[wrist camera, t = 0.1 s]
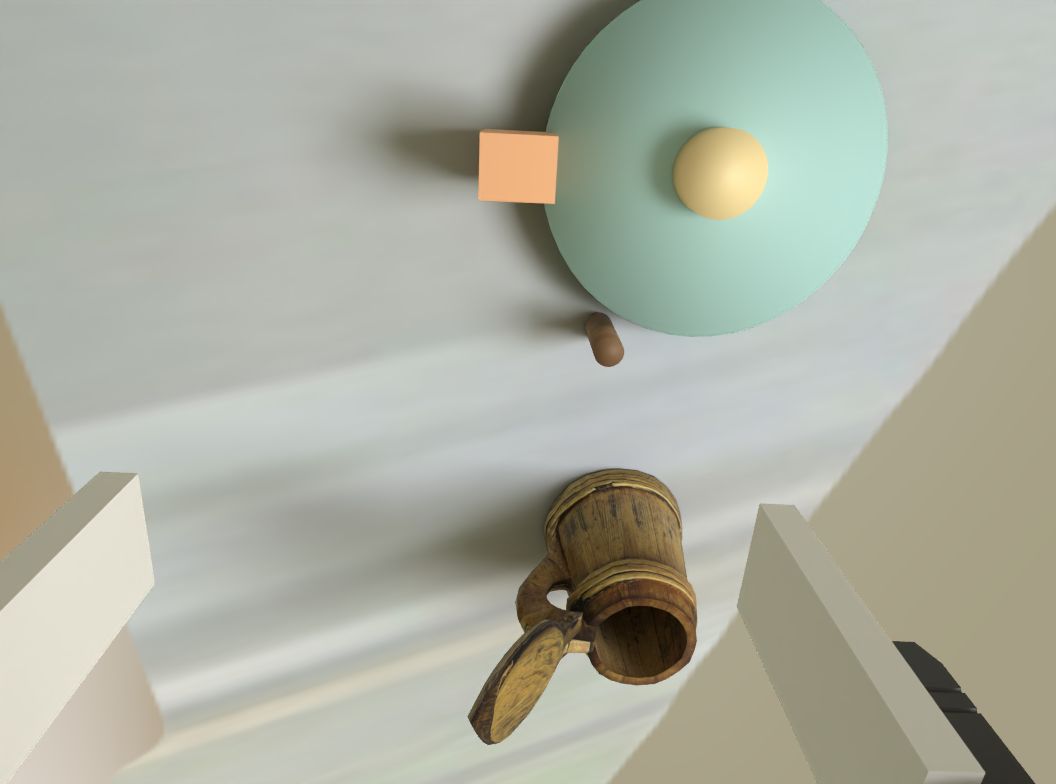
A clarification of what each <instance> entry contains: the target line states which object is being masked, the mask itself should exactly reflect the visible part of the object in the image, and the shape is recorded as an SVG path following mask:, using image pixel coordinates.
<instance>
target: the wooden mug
mask: <svg viewBox="0 0 1056 784" xmlns="http://www.w3.org/2000/svg"><path fill="white" fill-rule="evenodd" d="M544 535H545V539H546V544H547V549H548V555H547V556H546V558H545V559H544V560H543V561H542V562H541V563H540V564H539V565H538V566H537V567H536V568H535V569H534V570H533V571H532V572H531V573H530V575H529V576H528V577H527V578H526V580H525V581H524V582H523V584H522V585H521V586H520V588H519V591H518V595H517V598H516V602H515V603H516V610H517V616H518V620H519V622H520V624H521V626H522V628H523V630H524V632H525V633H524V634H523V635H522V636H521V637H520V638H519V639H518V640H517V641H516V642H515V643H514V644H513V646H512V647H511V648H510V649H509V650H508V652H507V653H506V654H505V655H504V656H503V658H502V659H501V661H500V662H499V663H498V665H497V666H496V667H495V669H494V670H493V672H492V673H491V675H490V676H489V678H488V680H487V681H486V683H485V684H484V686H483V688H482V690H481V692H480V694H479V696H478V698H477V700H476V701H475V703H474V705H473V707H472V709H471V711H470V713H469V715H468V719H469V721H470V723H471V725H472V727H473V729H474V730H475V732H476V734H477V735H478V737H479V738H480V739H481V740H482V741H483V742H484V743H486V744H488V745H491V744H496V743H500V742H501V741H503V740H504V739H505V738H507V737H508V736H509V735H511V733H512V732H513V731H514V730H515V729H516V728H517V727H518V725H519V724H520V723H521V722H522V721H523V720H524V719H525V718H526V717H527V715H528V714H529V713H530V711H531V710H532V708H533V707H534V705H535V704H536V702H537V701H538V699H539V698H540V696H541V695H542V693H543V692H544V690H545V688H546V686H547V684H548V683H549V681H550V679H551V677H552V675H553V673H554V671H555V669H556V667H557V665H558V663H559V661H560V660H561V659H562V658H563V657H564V656H565V655H566V654H567V653H586V655H587V656H588V657H589V659H590V661H591V663H592V665H593V667H594V668H595V669H596V670H597V671H598V673H599V674H601V675H603V676H604V677H606V678H608V679H610V680H612V681H615V682H619V683H623V684H631V685H647V684H655V683H658V682H660V681H663V680H665V679H667V678H669V677H670V676H672V675H674V674H675V673H677V672H678V671H680V670H681V669H682V668H683V667H684V666H685V665H687V664H688V663H689V662H690V660H691V657H692V655H693V653H694V650H695V646H696V642H697V639H696V627H697V608H696V595H695V593H694V590H693V588H692V586H691V584H690V583H689V582H688V581H687V576H686V569H685V562H684V556H683V549H682V522H681V516H680V511H679V508H678V505H677V501H676V499H675V497H674V496H673V494H672V493H671V492H670V490H669V489H668V488H667V486H666V485H664V484H663V483H662V482H660V481H659V480H658V479H657V478H655V477H654V476H651V475H649V474H646V473H643V472H640V471H635V470H625V469H614V470H605V471H601V472H597V473H592V474H588V475H586V476H584V477H582V478H581V479H579V480H577V481H575V482H573V483H572V484H570V485H569V486H568V487H567V488H566V489H565V490H564V491H563V492H562V494H561V495H560V496H559V497H558V498H557V499H556V501H555V503H554V504H553V506H552V508H551V510H550V512H549V514H548V516H547V518H546V521H545V523H544ZM555 590H566V591H567V593H568V596H569V597H568V599H567V604H566V610H562V609H560V608H557V607H555V606H554V605H552V604H550V602H549V601H548V600H547V596H546V595H547V594H548V593H549V592H550V591H555Z"/></svg>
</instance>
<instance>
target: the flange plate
mask: <svg viewBox="0 0 1056 784" xmlns="http://www.w3.org/2000/svg"><path fill="white" fill-rule="evenodd" d="M887 141H888V129H887V117H886V108H885V103H884V99H883V94H882V90H881V85H880V83H879V80H878V77H877V75H876V72H875V69H874V67H873V64H872V62H871V60H870V58H869V57H868V55H867V53H866V51H865V49H864V47H863V46H862V44H861V42H860V41H859V40H858V38H857V37H856V36H855V34H854V33H853V32H852V30H851V29H850V28H849V26H848V25H847V24H846V23H845V22H844V21H843V20H842V19H841V18H840V17H839V16H838V15H837V14H836V13H835V12H834V11H833V10H832V9H830V8H829V7H828V6H826V5H825V4H824V3H822V2H821V1H819V0H640V1H639V2H637V3H636V4H634V5H633V6H631V7H630V8H628V9H626V10H625V11H623V12H622V13H621V14H620V15H619V16H617V17H616V18H615V19H614V20H613V21H612V22H610V23H609V24H608V25H607V26H606V27H605V28H604V29H602V30H601V31H600V32H599V33H598V35H597V36H596V37H595V38H594V39H593V40H592V41H591V42H590V43H589V45H588V46H587V47H586V48H585V49H584V50H583V52H582V53H581V55H580V56H579V57H578V59H577V60H576V62H575V63H574V65H573V66H572V68H571V69H570V70H569V72H568V74H567V76H566V78H565V80H564V82H563V84H562V86H561V88H560V90H559V91H558V94H557V96H556V99H555V102H554V104H553V107H552V110H551V112H550V115H549V119H548V123H547V127H546V131H545V132H538V131H518V130H498V129H483V130H482V131H481V132H480V146H479V193H478V200H482V201H503V202H525V203H544V207H545V211H546V215H547V218H548V222H549V226H550V229H551V232H552V234H553V237H554V239H555V242H556V244H557V246H558V249H559V251H560V253H561V255H562V256H563V258H564V260H565V262H566V263H567V265H568V267H569V268H570V270H571V271H572V273H573V274H574V275H575V277H576V278H577V279H578V280H579V282H580V283H581V284H582V285H583V287H584V288H585V289H586V290H587V291H588V292H589V293H590V294H592V295H593V296H594V297H595V298H596V299H597V300H598V301H599V302H600V303H602V304H603V305H604V306H606V307H607V308H608V309H610V310H611V311H612V312H614V313H615V314H617V315H619V316H621V317H623V318H625V319H626V320H628V321H630V322H632V323H634V324H637V325H640V326H642V327H645V328H647V329H650V330H654V331H658V332H662V333H666V334H670V335H680V336H689V337H698V336H716V335H723V334H729V333H734V332H738V331H742V330H745V329H749V328H753V327H755V326H757V325H760V324H762V323H765V322H767V321H770V320H772V319H774V318H776V317H778V316H780V315H781V314H783V313H785V312H787V311H789V310H791V309H792V308H794V307H795V306H796V305H798V304H799V303H801V302H802V301H804V300H805V299H806V298H808V297H809V296H811V295H812V294H813V293H814V292H815V291H816V290H817V289H818V288H820V287H821V286H822V285H823V284H824V283H825V282H826V281H827V280H828V279H829V278H830V277H831V276H832V275H833V274H834V272H835V271H836V270H837V269H838V268H839V267H840V266H841V265H842V264H843V262H844V261H845V259H846V258H847V257H848V255H849V254H850V252H851V251H852V250H853V248H854V247H855V245H856V244H857V242H858V240H859V238H860V237H861V235H862V233H863V231H864V229H865V228H866V226H867V224H868V222H869V219H870V217H871V214H872V212H873V210H874V207H875V205H876V202H877V199H878V195H879V192H880V189H881V185H882V182H883V177H884V171H885V165H886V159H887Z"/></svg>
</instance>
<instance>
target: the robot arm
mask: <svg viewBox="0 0 1056 784" xmlns="http://www.w3.org/2000/svg"><path fill="white" fill-rule="evenodd" d="M154 584H155V581H154V574H153V568H152V561H151V555H150V548H149V542H148V535H147V529H146V522H145V516H144V509H143V503H142V496H141V490H140V483H139V477H138V474H135V473H114V472H99V473H98V474H97V475H96V476H95V477H94V478H93V479H91V480H90V481H89V482H88V483H87V484H86V485H85V486H84V487H83V488H81V489H80V490H79V491H78V492H77V493H76V494H75V495H74V496H73V497H71V498H70V499H69V500H68V501H67V502H66V503H65V504H64V505H63V506H62V507H60V508H59V509H58V510H57V511H56V512H55V513H54V514H53V515H52V516H50V517H49V518H48V519H47V520H46V521H45V522H44V523H43V524H42V525H40V526H39V527H38V528H37V529H36V530H35V531H34V532H33V533H32V534H31V535H29V536H28V537H27V538H26V539H25V540H24V541H23V542H22V543H20V544H19V545H18V546H17V547H16V548H15V549H14V550H13V551H12V552H10V553H9V554H8V555H7V556H6V557H5V558H4V559H3V560H2V561H1V562H0V784H7V783H8V782H9V781H10V779H11V778H12V777H13V775H14V774H15V773H16V771H17V770H18V768H19V767H20V766H21V764H22V763H23V761H24V760H25V759H26V757H27V756H28V755H29V754H30V752H31V751H32V749H33V748H34V747H35V745H36V744H37V743H38V741H39V740H40V739H41V737H42V736H43V734H44V733H45V732H46V730H47V729H48V728H49V726H50V725H51V724H52V722H53V721H54V720H55V718H56V717H57V715H58V714H59V713H60V711H61V710H62V709H63V707H64V706H65V705H66V703H67V702H68V701H69V699H70V698H71V697H72V695H73V694H74V693H75V691H76V690H77V688H78V687H79V685H80V684H81V683H82V682H83V680H84V679H85V678H86V676H87V675H88V674H89V672H90V671H91V669H92V668H93V667H94V665H95V664H96V662H97V661H98V660H99V659H100V657H101V656H102V654H103V653H104V651H105V650H106V649H107V648H108V646H109V645H110V644H111V642H112V641H113V640H114V638H115V637H116V636H117V634H118V633H119V631H120V630H121V629H122V627H123V626H124V625H125V623H126V622H127V621H128V619H129V618H130V617H131V615H132V614H133V612H134V611H135V610H136V608H137V607H138V606H139V604H140V603H141V602H142V600H143V599H144V598H145V596H146V595H147V593H148V592H149V591H150V589H151V588H152V587H153V585H154ZM737 608H738V611H739V613H740V615H741V617H742V619H743V621H744V624H745V626H746V628H747V630H748V632H749V635H750V637H751V639H752V641H753V643H754V646H755V648H756V650H757V652H758V654H759V657H760V659H761V661H762V663H763V665H764V668H765V669H766V672H767V674H768V676H769V679H770V681H771V683H772V685H773V687H774V689H775V692H776V694H777V696H778V698H779V701H780V703H781V705H782V707H783V709H784V712H785V714H786V716H787V718H788V720H789V722H790V725H791V727H792V729H793V731H794V734H795V736H796V738H797V740H798V742H799V745H800V747H801V749H802V751H803V753H804V755H805V758H806V760H807V762H808V764H809V766H810V769H811V771H812V773H813V775H814V777H815V780H816V782H817V784H1035V783H1034V782H1033V780H1032V779H1031V778H1030V776H1029V775H1028V774H1027V773H1026V771H1025V770H1024V769H1023V767H1022V766H1021V765H1020V763H1019V762H1018V761H1017V760H1016V758H1015V757H1014V756H1013V754H1012V753H1011V752H1010V751H1009V750H1008V748H1007V747H1006V745H1005V744H1004V743H1003V742H1002V740H1001V739H1000V738H999V736H998V735H997V734H996V733H995V731H994V730H993V729H992V727H991V726H990V725H989V724H988V722H987V721H986V720H985V718H984V717H983V716H982V715H981V714H978V713H977V708H976V707H975V706H974V704H973V703H972V702H971V700H970V699H969V698H968V697H967V695H966V694H965V693H962V692H961V687H960V686H959V685H958V684H957V682H956V681H955V680H954V678H953V677H952V676H951V675H950V673H949V672H948V671H947V669H946V668H945V667H944V666H943V664H942V663H941V662H939V661H938V660H937V659H935V658H934V657H933V656H931V655H930V654H929V653H928V652H926V651H925V650H924V649H922V648H921V647H920V646H919V645H917V644H916V643H915V642H899V641H891V640H890V638H889V637H888V636H887V634H886V633H885V632H884V630H883V629H882V627H881V626H880V624H879V623H878V622H877V620H876V619H875V617H874V616H873V614H872V613H871V612H870V610H869V609H868V607H867V606H866V605H865V603H864V602H863V600H862V599H861V598H860V596H859V595H858V593H857V592H856V591H855V589H854V588H853V587H852V585H851V584H850V582H849V581H848V580H847V578H846V577H845V575H844V574H843V573H842V571H841V570H840V568H839V567H838V565H837V564H836V563H835V561H834V560H833V558H832V557H831V556H830V555H829V553H828V551H827V550H826V549H825V547H824V546H823V544H822V543H821V542H820V541H819V539H818V537H817V536H816V535H815V533H814V532H813V531H812V529H811V528H810V526H809V525H808V523H807V522H806V521H805V519H804V518H803V516H802V515H801V514H800V512H799V511H798V509H797V508H796V507H795V505H780V504H760V505H759V509H758V514H757V518H756V523H755V527H754V532H753V536H752V541H751V545H750V550H749V554H748V559H747V563H746V568H745V572H744V577H743V581H742V586H741V590H740V595H739V599H738V604H737Z"/></svg>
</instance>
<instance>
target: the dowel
mask: <svg viewBox="0 0 1056 784" xmlns="http://www.w3.org/2000/svg"><path fill="white" fill-rule="evenodd" d="M585 330H586V333H587V336H588V339H589V342H590V345H591V348H592V351H593V353H594V356H595V359H596V361H597V362H598V363H599V364H600V365H602V366H606V367H611V366H614V365H616V364H618V363H619V362H620V361H621V360H622V358H623V356H624V348H623V346H622V343H621V341H620V339H619V337H618V335H617V333H616V331H615V329H614V327H613V325H612V322H611V320H610V318H609V317H608V316H607V315H605V314H603V313H594V314H592V315H590V316H589V317H588V318H587V320H586V322H585Z"/></svg>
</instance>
